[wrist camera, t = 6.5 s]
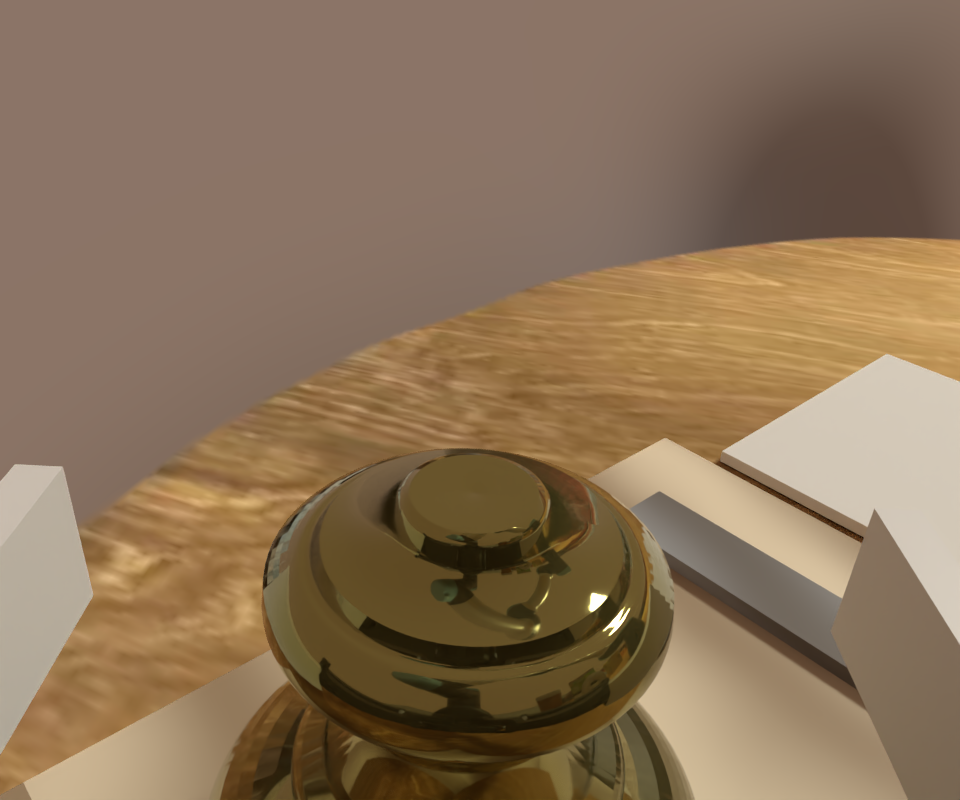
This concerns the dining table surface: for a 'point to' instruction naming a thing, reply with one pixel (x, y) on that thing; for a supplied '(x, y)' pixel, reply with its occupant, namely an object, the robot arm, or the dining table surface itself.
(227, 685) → the light wooden flat frame
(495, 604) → the brass bell weight
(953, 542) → the mat
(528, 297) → the dining table surface
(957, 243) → the dining table surface
